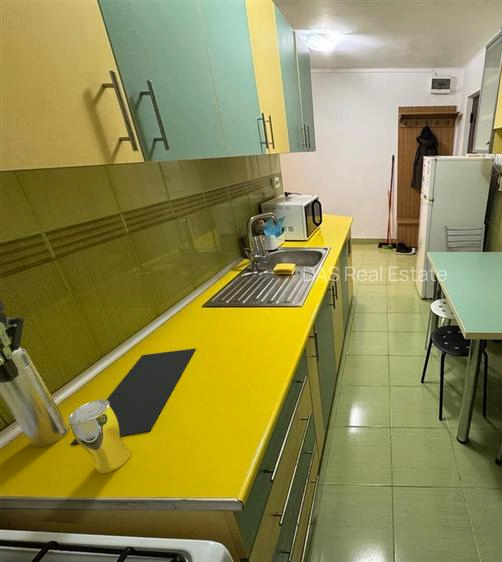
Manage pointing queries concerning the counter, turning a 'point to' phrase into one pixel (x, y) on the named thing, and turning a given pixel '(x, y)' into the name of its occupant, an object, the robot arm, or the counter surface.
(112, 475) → the counter surface
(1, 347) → the robot arm
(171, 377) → the mat
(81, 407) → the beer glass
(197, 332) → the counter surface
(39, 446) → the silver metal cylinder
